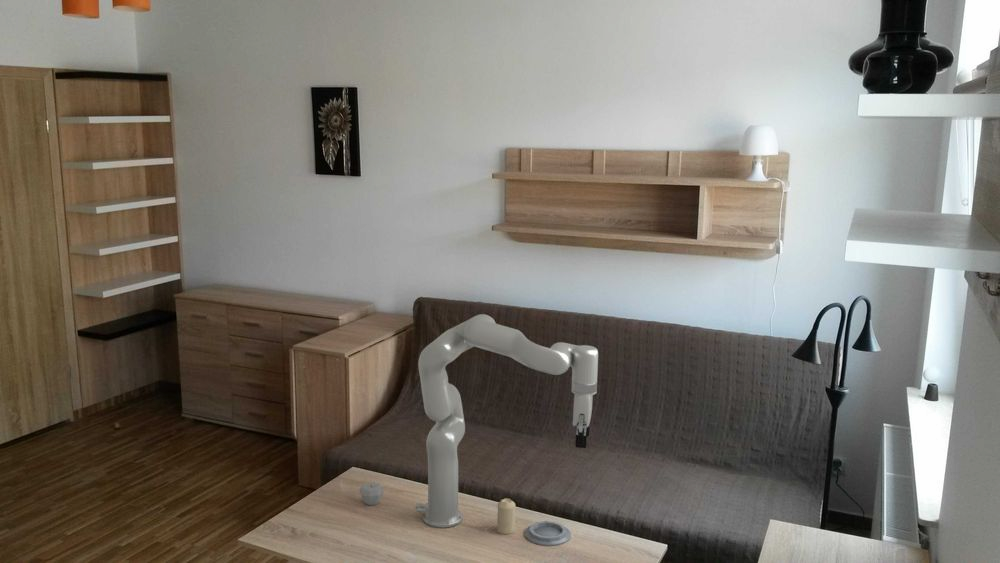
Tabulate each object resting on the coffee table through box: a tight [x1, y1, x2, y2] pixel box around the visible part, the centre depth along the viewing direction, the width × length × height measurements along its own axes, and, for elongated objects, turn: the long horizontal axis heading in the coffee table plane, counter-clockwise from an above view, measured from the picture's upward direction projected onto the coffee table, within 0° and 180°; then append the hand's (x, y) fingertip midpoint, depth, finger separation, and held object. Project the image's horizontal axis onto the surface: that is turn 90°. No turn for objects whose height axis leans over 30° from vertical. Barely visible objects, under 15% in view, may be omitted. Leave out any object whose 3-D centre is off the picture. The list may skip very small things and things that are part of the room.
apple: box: [359, 481, 384, 506], centre depth 274 cm, size 8×8×7 cm
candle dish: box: [524, 520, 571, 547], centre depth 254 cm, size 14×14×2 cm
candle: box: [496, 497, 516, 535], centre depth 256 cm, size 6×6×10 cm
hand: (582, 441), depth 250 cm, fingers open, 9 cm apart
